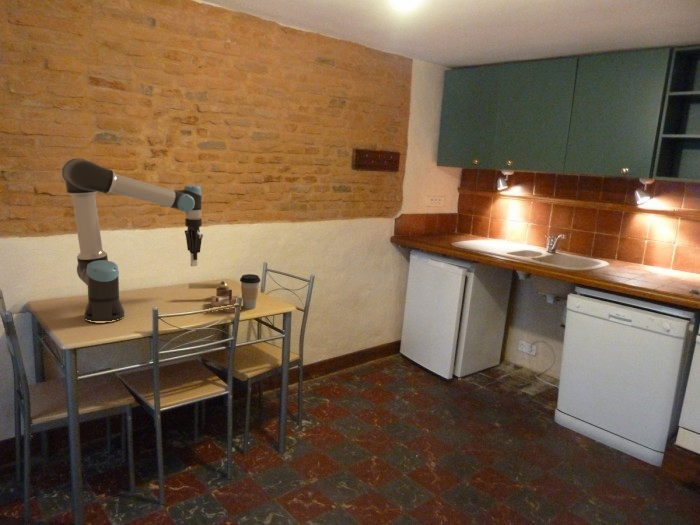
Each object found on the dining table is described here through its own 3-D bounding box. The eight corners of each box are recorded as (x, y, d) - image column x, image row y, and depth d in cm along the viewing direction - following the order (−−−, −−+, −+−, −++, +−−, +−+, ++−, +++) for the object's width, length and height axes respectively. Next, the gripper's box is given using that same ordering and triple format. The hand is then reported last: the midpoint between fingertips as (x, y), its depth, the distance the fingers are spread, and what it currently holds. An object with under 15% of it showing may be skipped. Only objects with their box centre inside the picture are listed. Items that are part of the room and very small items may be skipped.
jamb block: (216, 300, 246) (216, 290, 245) (216, 296, 252) (216, 286, 251) (229, 300, 248) (229, 290, 247) (228, 296, 254) (229, 286, 253)
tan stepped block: (211, 313, 229) (211, 296, 227) (211, 303, 242) (211, 287, 240) (239, 312, 232) (239, 295, 230) (237, 302, 245) (237, 286, 243)
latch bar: (227, 286, 251) (227, 280, 251) (227, 288, 248) (227, 282, 247) (188, 286, 246) (188, 280, 246) (188, 289, 243) (188, 283, 242)
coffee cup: (243, 311, 234) (244, 279, 231) (236, 305, 242) (236, 274, 238) (262, 308, 239) (263, 278, 236) (254, 302, 247) (255, 273, 244)
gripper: (179, 216, 245) (180, 264, 250) (193, 220, 236) (193, 269, 242) (193, 215, 250) (194, 262, 256) (207, 219, 241) (208, 267, 247)
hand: (193, 265), depth 249 cm, fingers closed
